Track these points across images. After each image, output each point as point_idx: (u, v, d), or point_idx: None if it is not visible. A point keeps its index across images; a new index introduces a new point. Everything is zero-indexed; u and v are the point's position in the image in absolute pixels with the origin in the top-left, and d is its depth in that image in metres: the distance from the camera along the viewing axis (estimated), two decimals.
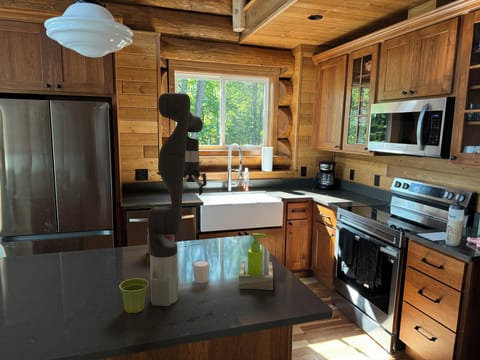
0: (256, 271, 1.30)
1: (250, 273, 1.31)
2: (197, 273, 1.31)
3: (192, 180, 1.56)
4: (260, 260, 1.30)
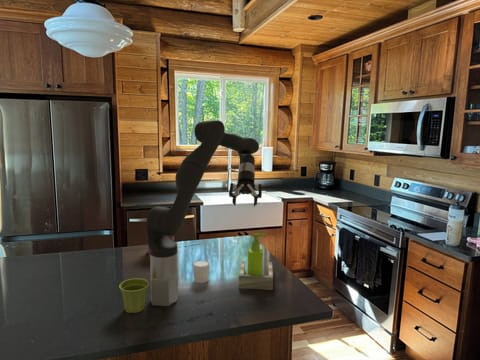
0: (256, 271, 1.30)
1: (250, 273, 1.31)
2: (197, 273, 1.31)
3: (247, 190, 1.46)
4: (260, 260, 1.30)
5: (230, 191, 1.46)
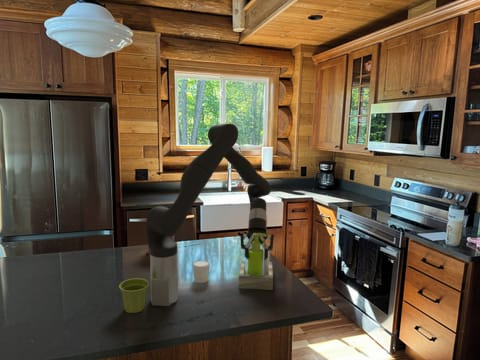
0: (256, 271, 1.30)
1: (250, 273, 1.31)
2: (197, 273, 1.31)
3: None
4: (260, 260, 1.30)
5: (242, 243, 1.33)
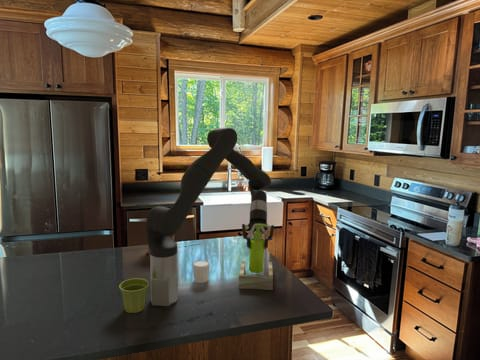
0: (257, 259, 1.36)
1: (252, 261, 1.37)
2: (197, 273, 1.31)
3: None
4: (262, 249, 1.36)
5: (244, 233, 1.40)
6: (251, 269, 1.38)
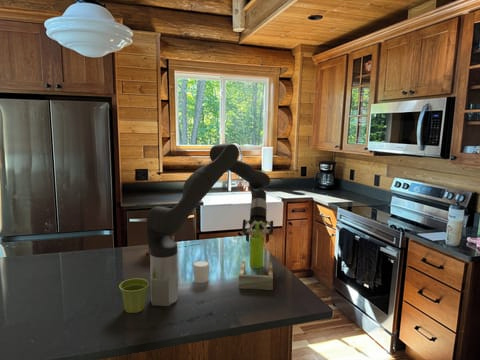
0: (257, 255, 1.46)
1: (252, 257, 1.47)
2: (197, 273, 1.31)
3: (259, 226, 1.50)
4: (261, 246, 1.46)
5: (243, 228, 1.50)
6: (252, 264, 1.48)
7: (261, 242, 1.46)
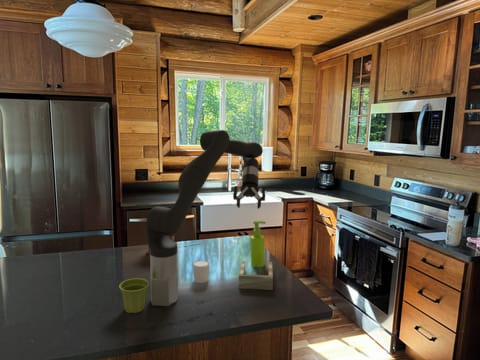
0: (258, 254, 1.47)
1: (253, 257, 1.48)
2: (197, 273, 1.31)
3: (251, 193, 1.49)
4: (261, 245, 1.47)
5: (234, 194, 1.49)
6: (253, 264, 1.48)
7: (261, 241, 1.47)
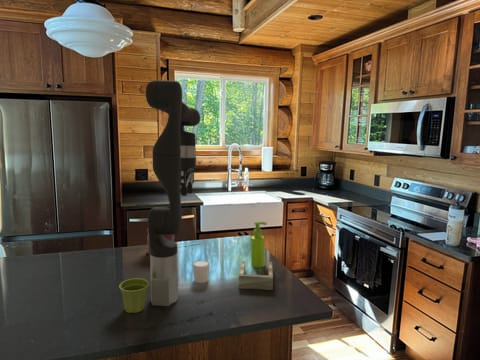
0: (258, 255, 1.46)
1: (253, 257, 1.47)
2: (197, 273, 1.31)
3: (189, 178, 1.44)
4: (261, 245, 1.46)
5: (185, 182, 1.37)
6: (253, 264, 1.48)
7: (261, 242, 1.46)
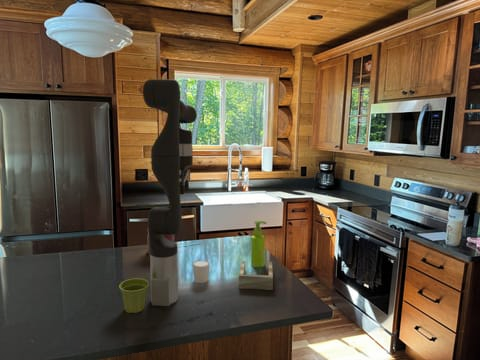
0: (258, 254, 1.47)
1: (253, 256, 1.48)
2: (197, 273, 1.31)
3: None
4: (261, 245, 1.47)
5: (182, 181, 1.36)
6: (253, 264, 1.48)
7: (261, 241, 1.47)
